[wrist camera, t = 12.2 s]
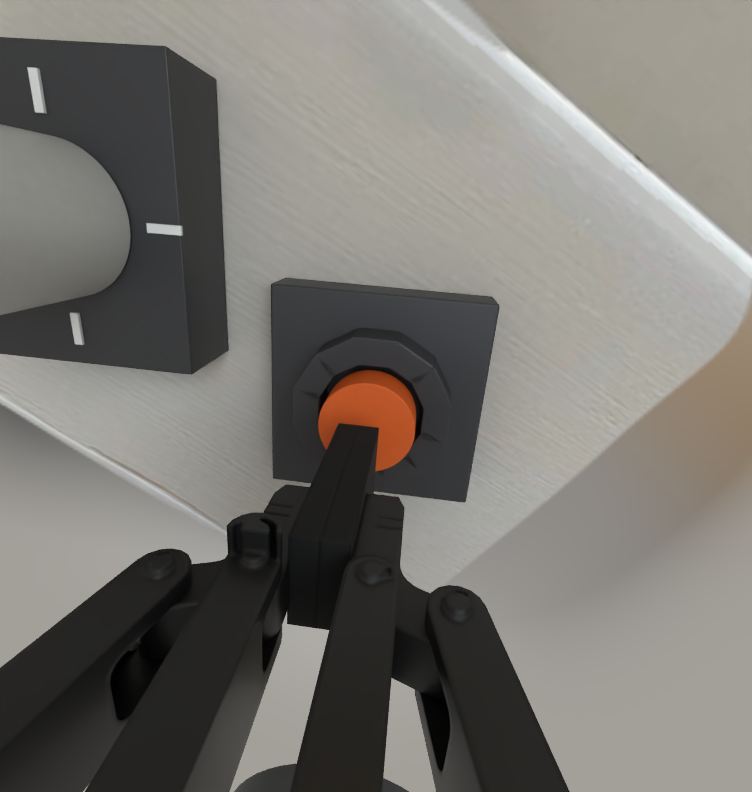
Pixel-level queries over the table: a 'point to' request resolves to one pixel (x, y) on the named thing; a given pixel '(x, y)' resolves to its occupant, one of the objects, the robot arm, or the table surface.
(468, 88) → the table surface
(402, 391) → the power button
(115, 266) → the timer dial
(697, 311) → the table surface
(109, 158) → the dial panel
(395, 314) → the button base
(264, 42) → the table surface
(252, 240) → the table surface
